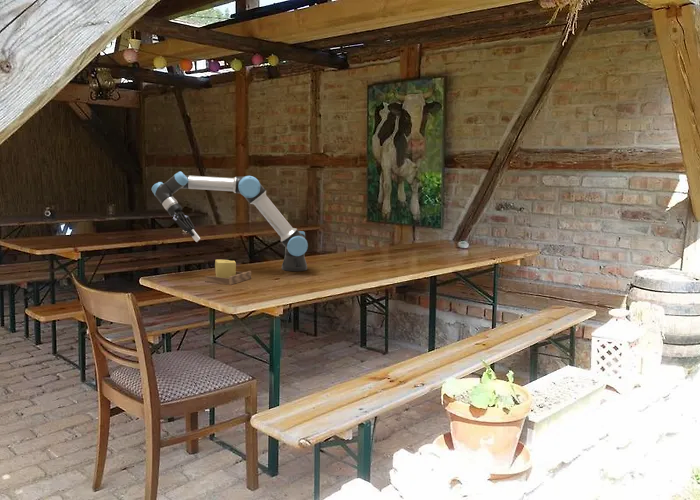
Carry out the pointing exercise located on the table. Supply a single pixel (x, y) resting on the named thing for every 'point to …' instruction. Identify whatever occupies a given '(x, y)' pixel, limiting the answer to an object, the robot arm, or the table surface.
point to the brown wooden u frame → (231, 280)
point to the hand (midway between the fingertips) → (198, 240)
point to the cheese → (225, 268)
